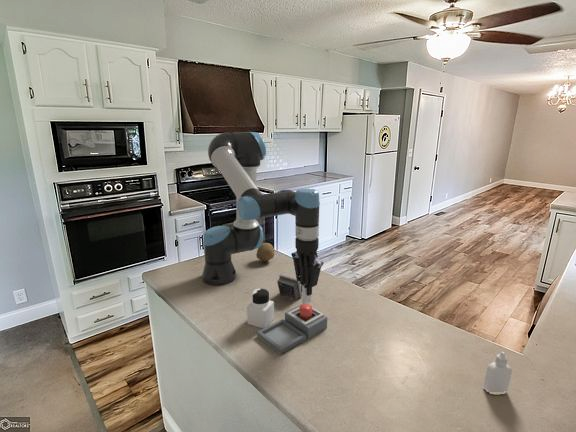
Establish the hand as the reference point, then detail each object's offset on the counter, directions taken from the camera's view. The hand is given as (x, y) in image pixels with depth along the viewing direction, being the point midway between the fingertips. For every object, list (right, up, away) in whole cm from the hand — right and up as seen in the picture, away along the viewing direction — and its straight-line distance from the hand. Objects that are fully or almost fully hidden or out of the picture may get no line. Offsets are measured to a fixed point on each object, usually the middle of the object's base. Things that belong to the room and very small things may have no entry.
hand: (306, 302), depth 112 cm
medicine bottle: (-16, -8, +5) cm, 19 cm away
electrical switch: (-6, -4, +21) cm, 22 cm away
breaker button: (0, -5, +2) cm, 5 cm away
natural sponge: (-17, +6, +55) cm, 58 cm away
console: (-5, -10, -1) cm, 11 cm away
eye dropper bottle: (+49, -17, -25) cm, 57 cm away
